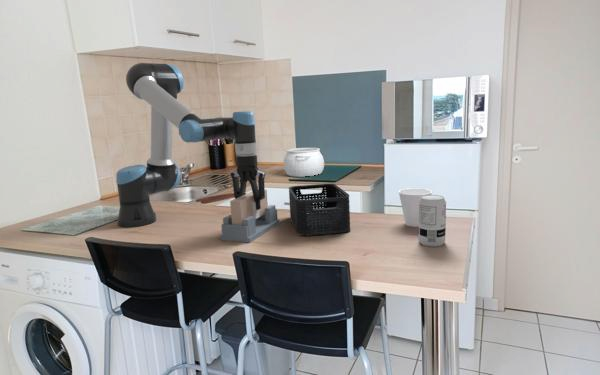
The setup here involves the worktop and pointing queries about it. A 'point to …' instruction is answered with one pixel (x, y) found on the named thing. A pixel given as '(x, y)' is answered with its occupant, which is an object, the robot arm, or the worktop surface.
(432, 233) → the supplement can
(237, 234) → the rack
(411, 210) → the cup
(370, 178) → the worktop surface
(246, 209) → the tan rectangular block
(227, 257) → the worktop surface
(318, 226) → the storage bin
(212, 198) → the wooden tablet
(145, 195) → the robot arm
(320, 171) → the pot
